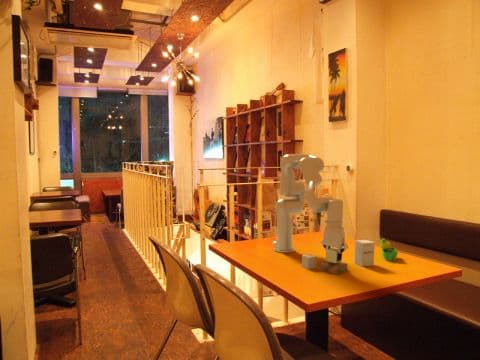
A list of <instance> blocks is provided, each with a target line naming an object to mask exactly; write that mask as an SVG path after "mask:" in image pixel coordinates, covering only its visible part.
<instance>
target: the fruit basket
mask: <svg viewBox="0 0 480 360" xmlns="http://www.w3.org/2000/svg"><path fill="white" fill-rule="evenodd" d="M379 244H380V250H381V253H382V258H383V259H384V261H390V262H391V261H392V262H394V261H396V259H397V257H398V255H399V251H398V250H397V249H396V248H395V247H392V246H391V245H392V244H391V243H390V242H389V241H388V240H387V239H385V238H381V239H380V241H379Z"/></svg>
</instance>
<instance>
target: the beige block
mask: <svg viewBox="0 0 480 360" xmlns="http://www.w3.org/2000/svg"><path fill="white" fill-rule="evenodd" d="M337 253H338V249H337V248H336V247H331V248H329V249H326V250H325V256H326V257H325V261H328V262H332V263H338V262H342V259H341V260H340V261H337Z"/></svg>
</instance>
